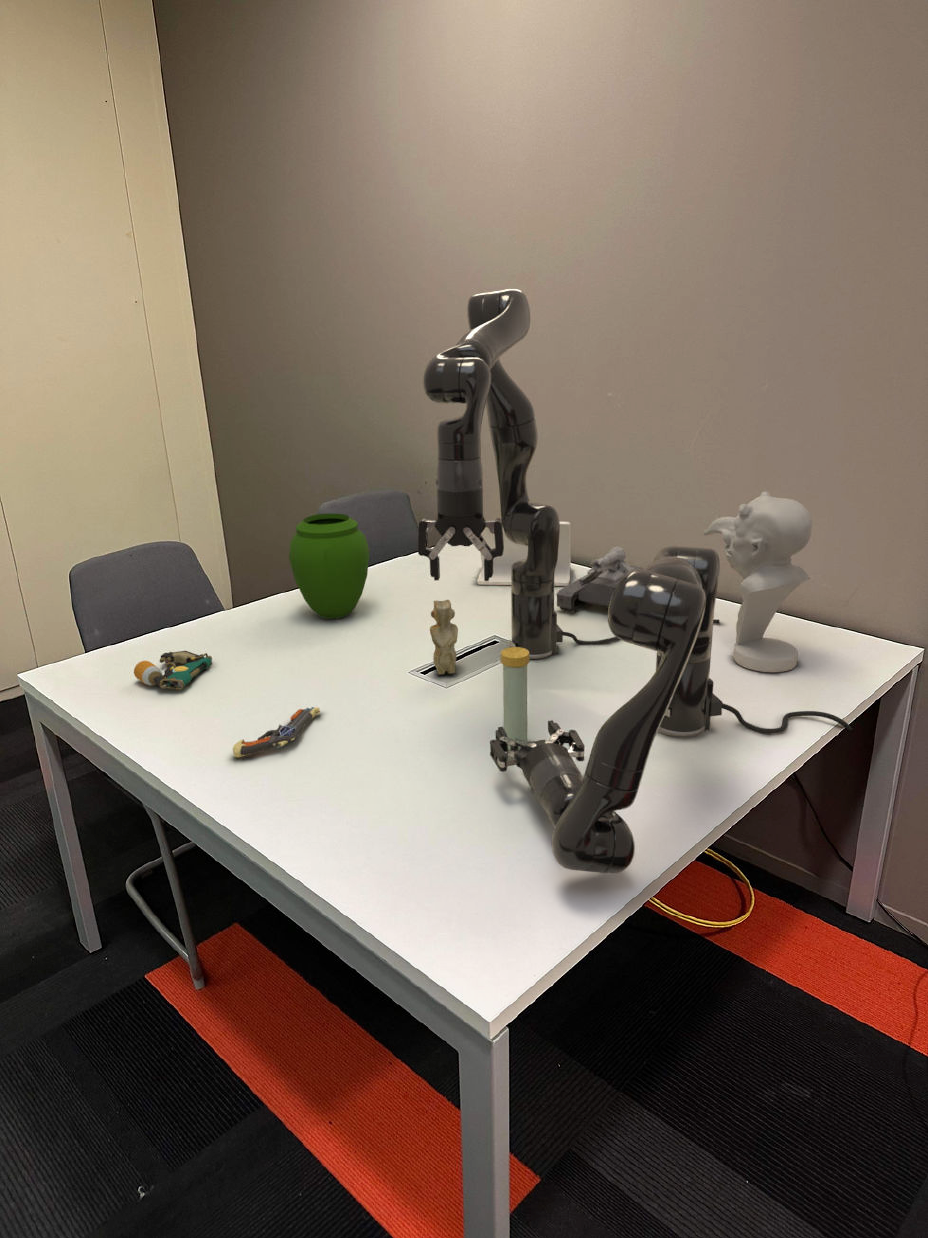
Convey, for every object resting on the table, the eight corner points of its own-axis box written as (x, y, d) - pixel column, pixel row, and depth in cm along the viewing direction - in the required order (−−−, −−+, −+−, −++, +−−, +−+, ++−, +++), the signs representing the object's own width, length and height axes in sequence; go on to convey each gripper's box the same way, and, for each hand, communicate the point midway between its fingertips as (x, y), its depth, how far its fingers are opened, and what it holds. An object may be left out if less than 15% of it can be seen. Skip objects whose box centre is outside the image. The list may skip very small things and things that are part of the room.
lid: (514, 670, 140) (514, 660, 139) (494, 661, 143) (494, 652, 142) (535, 662, 142) (535, 652, 142) (516, 653, 146) (516, 644, 145)
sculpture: (458, 662, 183) (456, 596, 178) (460, 676, 176) (457, 608, 171) (431, 663, 183) (428, 597, 177) (431, 677, 176) (428, 609, 171)
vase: (389, 608, 216) (383, 514, 208) (339, 633, 201) (330, 533, 192) (330, 596, 226) (322, 506, 218) (278, 619, 211) (267, 523, 202)
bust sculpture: (733, 628, 197) (746, 477, 185) (818, 663, 177) (839, 497, 165) (679, 642, 190) (690, 486, 178) (762, 680, 170) (780, 508, 158)
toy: (603, 584, 229) (605, 530, 224) (673, 597, 218) (677, 540, 213) (555, 612, 210) (556, 553, 205) (630, 627, 199) (633, 566, 194)
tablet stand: (569, 585, 229) (570, 524, 223) (476, 584, 232) (475, 523, 226) (570, 566, 246) (571, 508, 240) (484, 564, 249) (483, 507, 243)
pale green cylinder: (514, 755, 146) (514, 661, 140) (499, 746, 149) (497, 654, 143) (532, 747, 148) (532, 655, 142) (516, 739, 151) (515, 648, 145)
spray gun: (177, 659, 191) (231, 671, 185) (120, 684, 176) (176, 698, 171) (176, 641, 190) (230, 653, 184) (118, 665, 175) (174, 678, 169)
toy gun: (227, 747, 146) (281, 745, 144) (271, 705, 164) (320, 702, 162) (230, 762, 146) (284, 759, 144) (274, 718, 164) (322, 715, 162)
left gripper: (504, 480, 142) (505, 573, 148) (420, 480, 144) (423, 572, 149) (501, 489, 135) (502, 587, 141) (412, 489, 137) (416, 585, 142)
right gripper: (601, 750, 126) (566, 703, 141) (507, 763, 123) (482, 713, 138) (599, 794, 129) (565, 743, 143) (508, 807, 126) (483, 754, 141)
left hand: (461, 579), depth 145 cm, fingers open, 8 cm apart
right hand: (524, 728), depth 141 cm, fingers open, 8 cm apart
